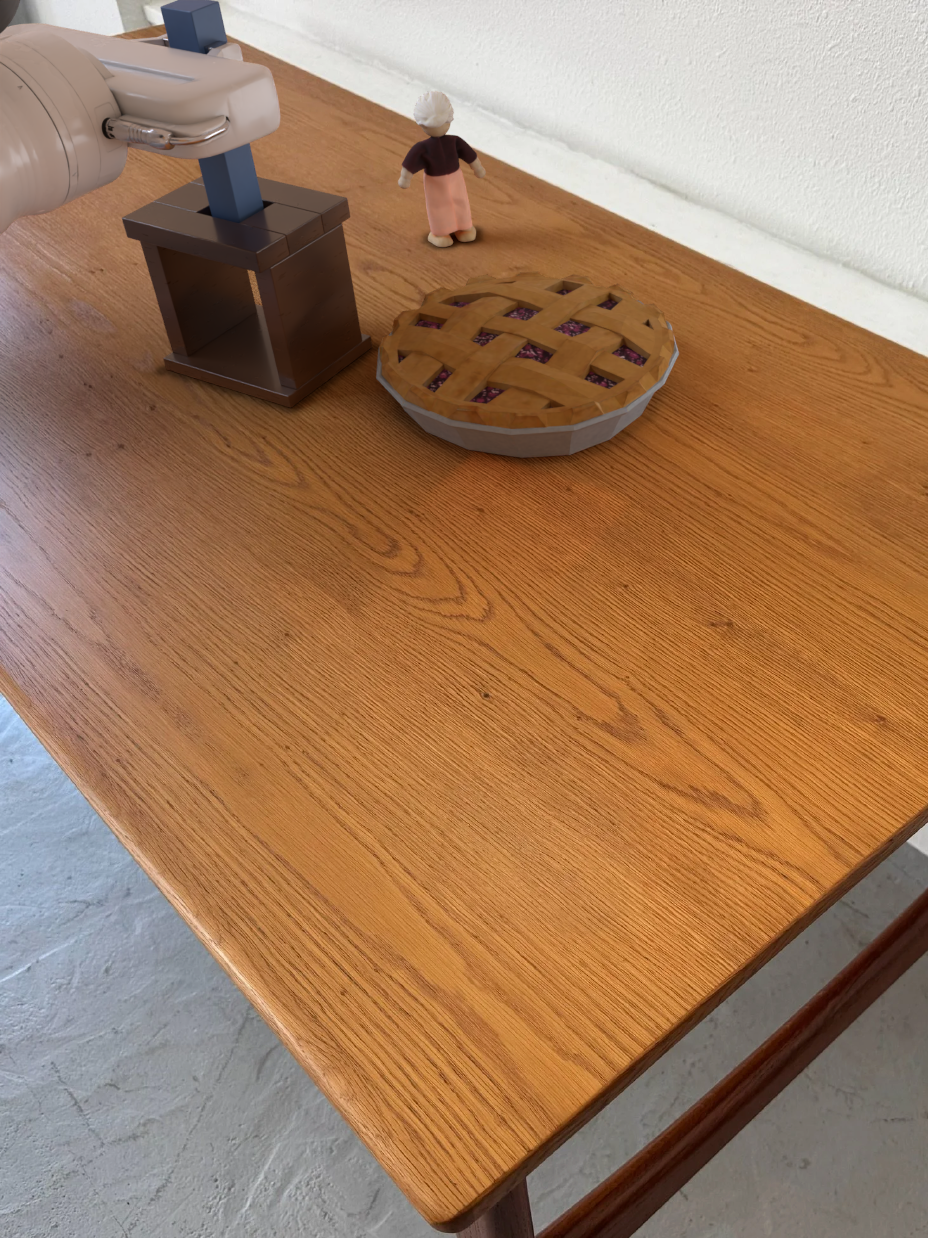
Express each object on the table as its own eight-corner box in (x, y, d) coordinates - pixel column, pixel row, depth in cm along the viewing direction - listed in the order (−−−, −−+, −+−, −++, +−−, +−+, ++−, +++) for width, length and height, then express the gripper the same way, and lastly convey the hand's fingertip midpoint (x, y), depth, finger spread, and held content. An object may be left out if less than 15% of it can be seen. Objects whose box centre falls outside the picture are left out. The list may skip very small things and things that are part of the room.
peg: (253, 281, 87) (192, 21, 76) (192, 265, 89) (124, 9, 78) (303, 250, 91) (253, -2, 80) (244, 235, 93) (186, -14, 81)
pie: (595, 502, 82) (593, 439, 79) (323, 426, 89) (310, 364, 85) (721, 351, 97) (724, 292, 93) (479, 295, 103) (473, 238, 100)
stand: (290, 408, 91) (255, 252, 82) (166, 369, 95) (120, 217, 86) (372, 347, 97) (347, 197, 89) (252, 313, 101) (218, 166, 93)
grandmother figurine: (473, 220, 114) (459, 76, 105) (495, 235, 112) (482, 89, 103) (399, 242, 111) (378, 95, 102) (420, 258, 108) (400, 109, 100)
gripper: (169, 90, 67) (328, 19, 76) (-94, 36, 73) (81, -22, 82) (198, 204, 71) (346, 125, 80) (-53, 144, 78) (110, 77, 87)
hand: (210, 50), depth 81 cm, fingers closed on peg, 2 cm apart
